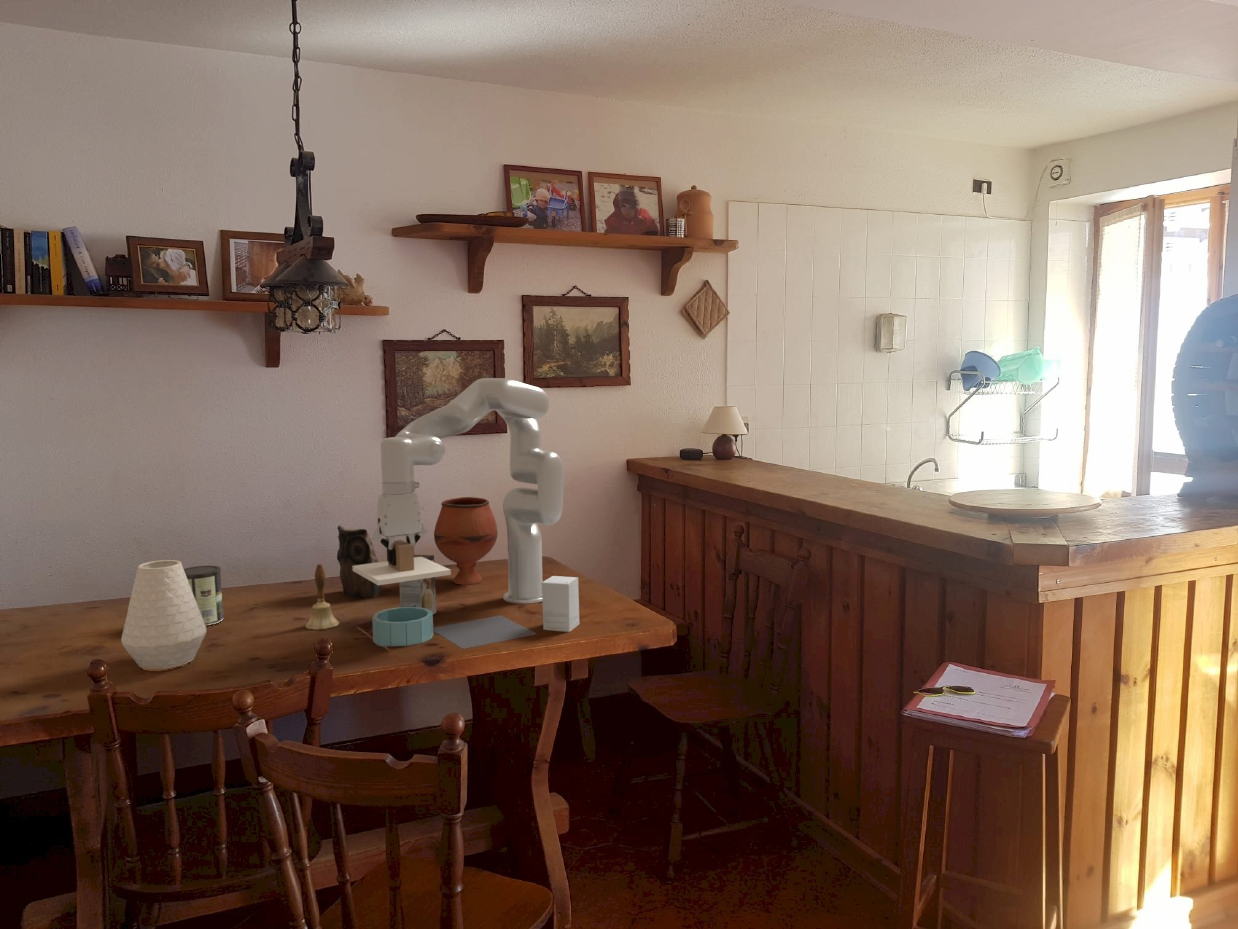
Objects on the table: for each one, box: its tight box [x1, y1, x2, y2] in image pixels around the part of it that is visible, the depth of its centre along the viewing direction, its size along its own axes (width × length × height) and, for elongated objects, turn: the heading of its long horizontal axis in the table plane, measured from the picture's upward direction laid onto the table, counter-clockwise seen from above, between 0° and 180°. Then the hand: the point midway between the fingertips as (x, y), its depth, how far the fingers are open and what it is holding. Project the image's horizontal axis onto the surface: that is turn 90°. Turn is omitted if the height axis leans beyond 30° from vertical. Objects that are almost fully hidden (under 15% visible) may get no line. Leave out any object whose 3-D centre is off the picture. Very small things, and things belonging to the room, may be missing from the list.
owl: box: [336, 525, 383, 599], centre depth 272 cm, size 13×13×20 cm
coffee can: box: [183, 565, 225, 626], centre depth 245 cm, size 10×10×14 cm
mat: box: [433, 615, 538, 650], centre depth 235 cm, size 20×20×1 cm
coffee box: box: [398, 554, 437, 615], centre depth 248 cm, size 9×6×16 cm
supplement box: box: [542, 575, 580, 633], centre depth 238 cm, size 7×7×13 cm
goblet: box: [433, 496, 499, 586], centre depth 285 cm, size 19×19×25 cm
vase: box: [120, 559, 208, 669], centre depth 213 cm, size 18×17×23 cm
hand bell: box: [305, 563, 340, 631], centre depth 242 cm, size 8×8×16 cm
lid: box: [352, 539, 452, 586], centre depth 228 cm, size 18×18×7 cm
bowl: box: [371, 606, 434, 648], centre depth 231 cm, size 14×14×6 cm
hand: (400, 562), depth 229 cm, fingers closed on lid, 3 cm apart
